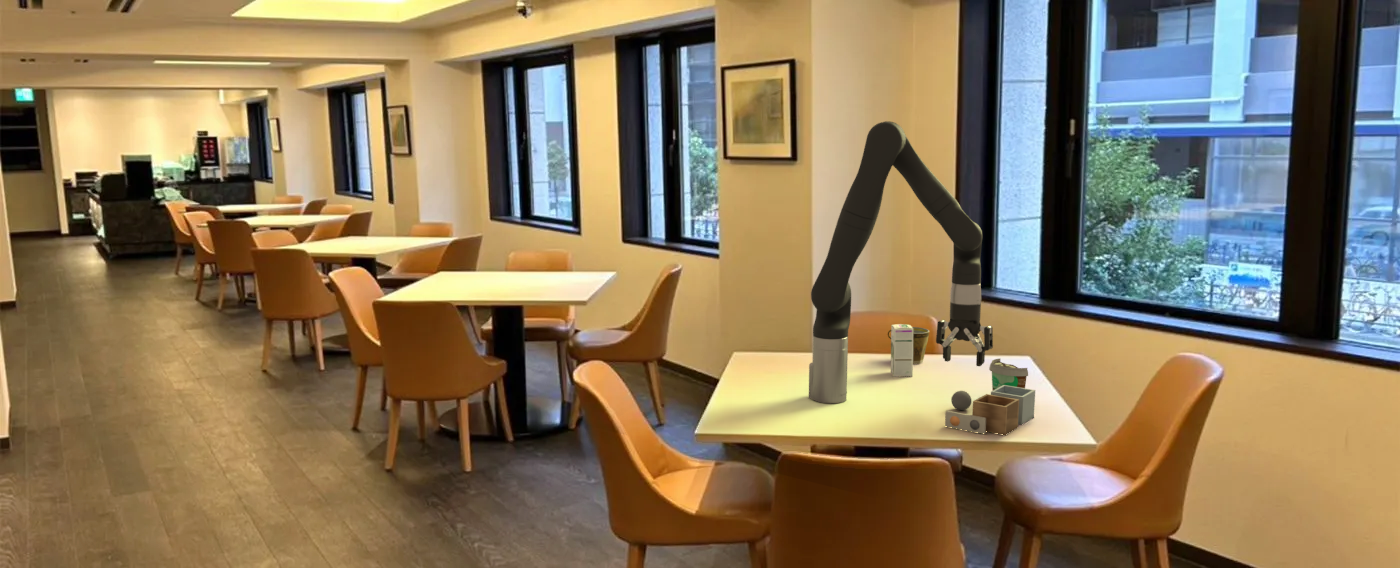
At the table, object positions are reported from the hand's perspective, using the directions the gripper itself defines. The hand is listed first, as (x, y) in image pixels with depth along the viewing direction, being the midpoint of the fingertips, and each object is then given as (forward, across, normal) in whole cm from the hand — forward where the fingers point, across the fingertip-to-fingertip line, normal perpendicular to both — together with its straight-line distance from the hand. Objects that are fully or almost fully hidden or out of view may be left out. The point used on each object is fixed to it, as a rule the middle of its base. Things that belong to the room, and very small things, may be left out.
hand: (963, 363), depth 259 cm
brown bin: (+12, +13, -10) cm, 20 cm away
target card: (+12, +8, -16) cm, 22 cm away
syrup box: (+12, -29, +24) cm, 40 cm away
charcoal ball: (+12, 0, 0) cm, 12 cm away
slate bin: (+12, +13, +1) cm, 18 cm away
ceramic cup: (+12, -35, +40) cm, 55 cm away
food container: (+13, +5, +15) cm, 20 cm away
